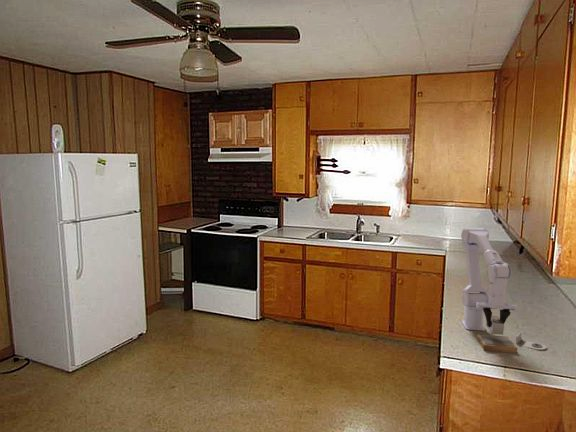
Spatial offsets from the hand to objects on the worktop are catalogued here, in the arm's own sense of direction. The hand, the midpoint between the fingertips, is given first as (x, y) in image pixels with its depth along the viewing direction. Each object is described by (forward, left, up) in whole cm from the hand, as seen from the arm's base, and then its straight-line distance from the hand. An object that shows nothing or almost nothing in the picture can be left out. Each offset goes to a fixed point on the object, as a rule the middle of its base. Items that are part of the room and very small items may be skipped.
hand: (494, 326), depth 163 cm
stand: (0, +1, -8) cm, 8 cm away
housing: (0, 0, -2) cm, 2 cm away
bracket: (-4, +15, -9) cm, 18 cm away
